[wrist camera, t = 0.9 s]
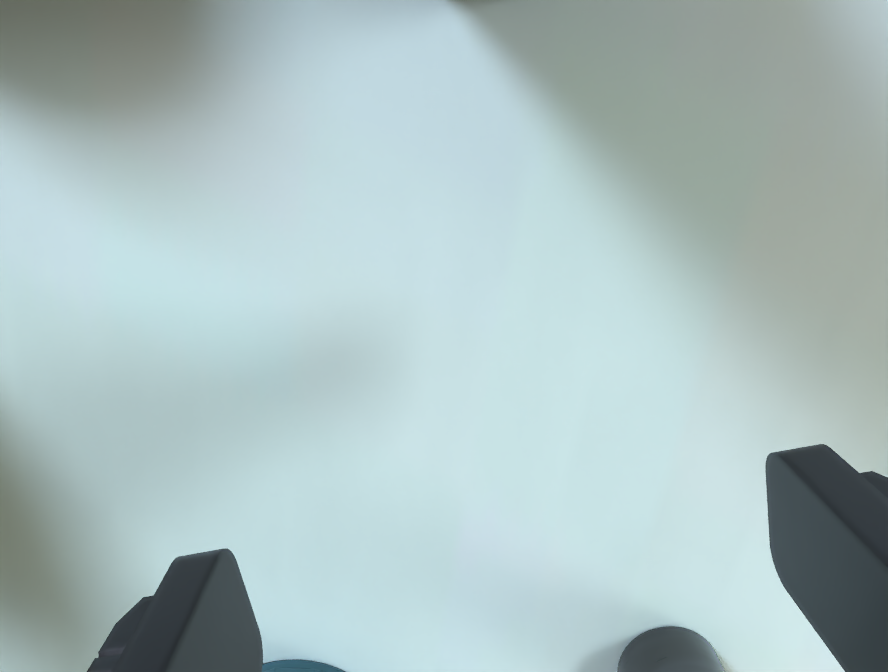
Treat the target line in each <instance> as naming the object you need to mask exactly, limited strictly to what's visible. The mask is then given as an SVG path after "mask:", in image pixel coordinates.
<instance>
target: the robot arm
mask: <svg viewBox="0 0 888 672" xmlns="http://www.w3.org/2000/svg"><path fill="white" fill-rule="evenodd" d="M766 485H767V503H768V520H769V537H770V548H771V554H772V558H773V562H774V565H775V568H776V571H777V573H778V576H779V578H780V580H781V582H782V584H783V586H784V587H785V589H786V590H787V592H788V593H789V595H790V596H791V597H792V599H793V600H794V602H795V603H796V604H797V606H798V607H799V608H800V610H801V611H802V613H803V614H804V615H805V617H806V618H807V620H808V621H809V622H810V624H811V625H812V626H813V628H814V629H815V631H816V632H817V633H818V635H819V636H820V637H821V639H822V640H823V642H824V643H825V644H826V646H827V647H828V649H829V650H830V651H831V653H832V654H833V655H834V657H835V658H836V660H837V661H838V662H839V664H840V665H841V666H842V668H843V669H844V671H845V672H888V478H887V477H885V476H882V475H880V474H878V473H875V472H873V471H870V472H864V473H858V472H857V471H856V470H855V469H854V468H853V467H852V466H850V465H849V464H848V463H847V462H846V461H845V460H844V459H842V458H841V457H840V456H839V455H838V454H837V453H836V452H834V451H833V450H832V449H831V448H830V447H828V446H827V445H824V444H819V445H813V446H808V447H802V448H796V449H791V450H785V451H780V452H774V453H770V454H769V455H768V457H767V460H766ZM98 653H99V657H98V658H95V659H94V661H93V663H92V664H91V666H90V668H89V669H88V671H87V672H262V664H263V650H262V641H261V635H260V631H259V628H258V625H257V622H256V619H255V616H254V613H253V610H252V607H251V603H250V600H249V597H248V594H247V591H246V588H245V585H244V582H243V579H242V576H241V573H240V570H239V567H238V564H237V561H236V559H235V557H234V555H233V553H232V552H231V551H230V550H229V549H219V550H214V551H208V552H203V553H197V554H191V555H186V556H180V557H177V558H176V559H174V561H173V562H172V563H171V565H170V567H169V569H168V571H167V573H166V574H165V576H164V578H163V580H162V582H161V583H160V585H159V587H158V589H157V591H156V592H155V594H154V596H149V597H143V598H142V599H141V600H140V601H139V602H138V603H137V604H136V605H135V606H134V607H133V608H132V609H131V610H130V611H129V612H128V613H127V614H126V615H124V616H123V617H122V618H121V619H120V620H119V621H118V622H117V623H116V624H115V626H114V627H113V629H112V631H111V632H110V634H109V636H108V637H107V639H106V641H105V642H104V644H103V646H102V647H101V649H100V651H99V652H98Z"/></svg>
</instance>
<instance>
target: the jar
mask: <svg viewBox="0 0 888 672" xmlns="http://www.w3.org/2000/svg"><path fill="white" fill-rule="evenodd" d="M262 672H345V671H343V670H341V669H338V668H336V667H333V666H330V665H327V664H323V663H319V662H314V661H306V660H282V661H274V662H270V663H266V664H262Z"/></svg>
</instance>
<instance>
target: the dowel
mask: <svg viewBox="0 0 888 672" xmlns="http://www.w3.org/2000/svg"><path fill="white" fill-rule="evenodd" d="M618 672H725V670H724V668H723V666H722V664H721V662H720V660H719V658H718V656H717V654H716V652H715V651H714V649H713V647H712V646H711V645H710V643H709V642H708V641H707V640H706V639H704V638H703V637H702V636H700V635H699V634H697V633H695V632H693V631H691V630H688V629H685V628H680V627H660V628H656V629H652V630H650V631H647V632H645V633H643V634H641V635H639V636H638V637H636V638H635V639H634V640H633V641H632V642H631V643H630V644H629V645H628V646H627V647H626V649H625V650H624V651H623V653H622V655H621V658H620V661H619V664H618Z"/></svg>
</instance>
